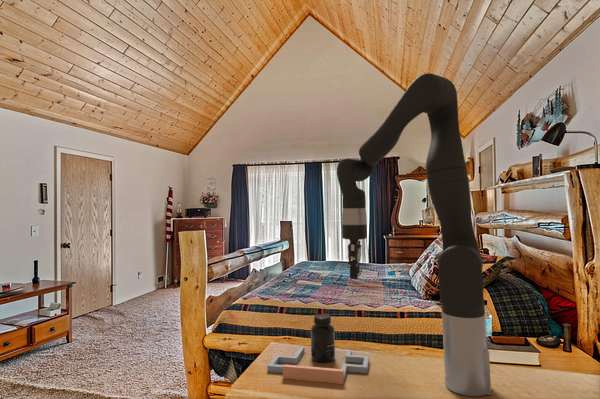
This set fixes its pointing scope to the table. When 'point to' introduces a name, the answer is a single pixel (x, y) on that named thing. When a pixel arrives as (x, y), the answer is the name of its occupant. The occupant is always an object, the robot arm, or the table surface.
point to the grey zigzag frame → (317, 368)
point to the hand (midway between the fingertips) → (355, 276)
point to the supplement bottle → (322, 339)
